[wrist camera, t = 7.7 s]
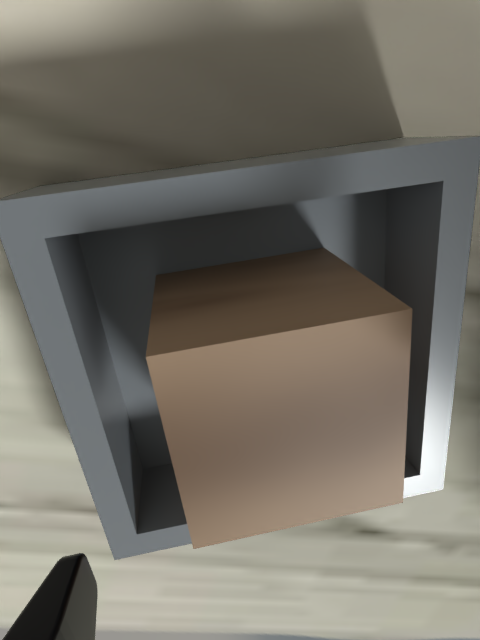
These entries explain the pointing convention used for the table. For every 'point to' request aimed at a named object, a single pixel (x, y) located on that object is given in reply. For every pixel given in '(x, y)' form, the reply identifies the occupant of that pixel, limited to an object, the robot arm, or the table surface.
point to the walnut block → (280, 392)
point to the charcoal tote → (221, 248)
